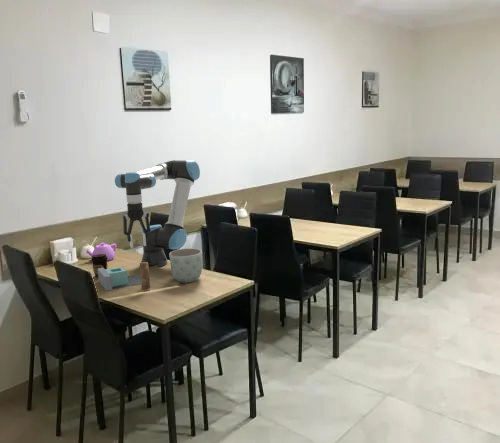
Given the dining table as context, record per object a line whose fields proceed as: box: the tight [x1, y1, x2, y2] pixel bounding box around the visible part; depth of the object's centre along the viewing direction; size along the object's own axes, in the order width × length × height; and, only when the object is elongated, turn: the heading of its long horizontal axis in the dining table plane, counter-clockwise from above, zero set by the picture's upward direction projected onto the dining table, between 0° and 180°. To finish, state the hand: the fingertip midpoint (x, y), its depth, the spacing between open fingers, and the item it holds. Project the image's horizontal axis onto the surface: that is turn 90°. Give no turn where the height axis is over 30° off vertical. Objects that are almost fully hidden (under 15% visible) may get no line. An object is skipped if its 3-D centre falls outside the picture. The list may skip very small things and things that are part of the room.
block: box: [105, 266, 129, 287], centre depth 249 cm, size 9×9×7 cm
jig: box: [98, 268, 142, 292], centre depth 251 cm, size 21×18×8 cm
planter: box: [168, 247, 203, 284], centre depth 253 cm, size 17×17×15 cm
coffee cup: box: [90, 254, 108, 279], centre depth 262 cm, size 9×8×13 cm
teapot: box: [85, 242, 118, 262], centre depth 301 cm, size 14×20×11 cm
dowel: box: [139, 262, 151, 292], centre depth 240 cm, size 4×4×14 cm
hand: (138, 246), depth 252 cm, fingers open, 6 cm apart
